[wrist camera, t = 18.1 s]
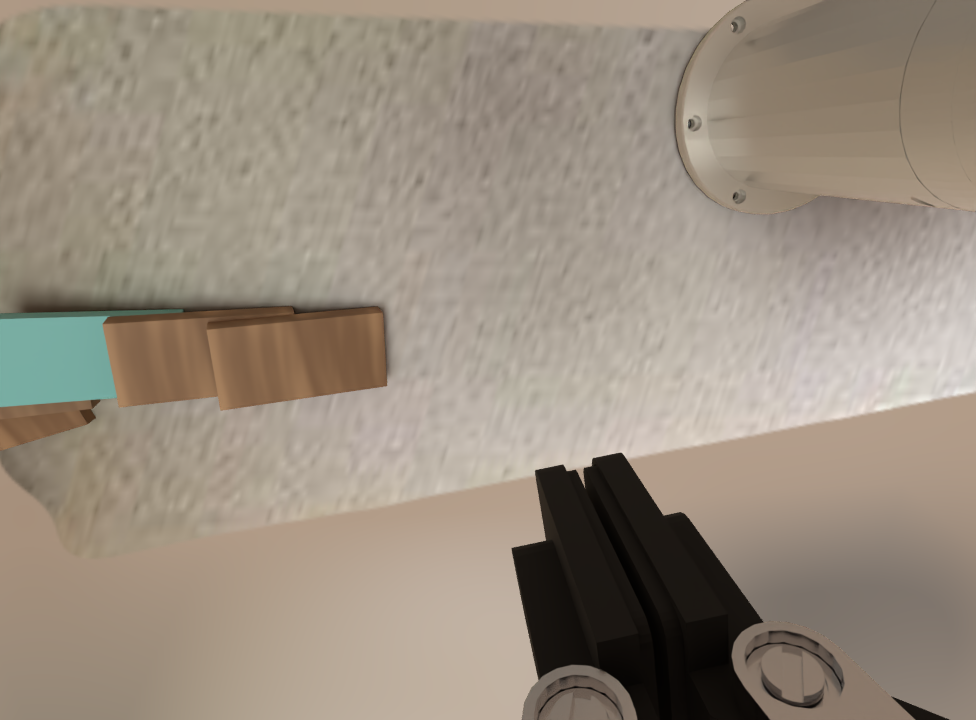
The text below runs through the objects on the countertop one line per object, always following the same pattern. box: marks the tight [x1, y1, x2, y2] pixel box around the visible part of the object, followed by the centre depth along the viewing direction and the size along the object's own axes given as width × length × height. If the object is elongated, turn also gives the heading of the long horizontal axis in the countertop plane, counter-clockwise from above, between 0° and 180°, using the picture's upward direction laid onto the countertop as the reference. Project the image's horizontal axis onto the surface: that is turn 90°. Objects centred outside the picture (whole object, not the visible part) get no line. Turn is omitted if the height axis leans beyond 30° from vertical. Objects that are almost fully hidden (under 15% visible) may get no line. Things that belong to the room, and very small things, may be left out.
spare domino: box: [0, 309, 184, 407], centre depth 33 cm, size 2×5×10 cm
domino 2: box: [102, 306, 294, 407], centre depth 34 cm, size 2×5×10 cm
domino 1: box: [207, 307, 387, 410], centre depth 35 cm, size 2×5×10 cm
